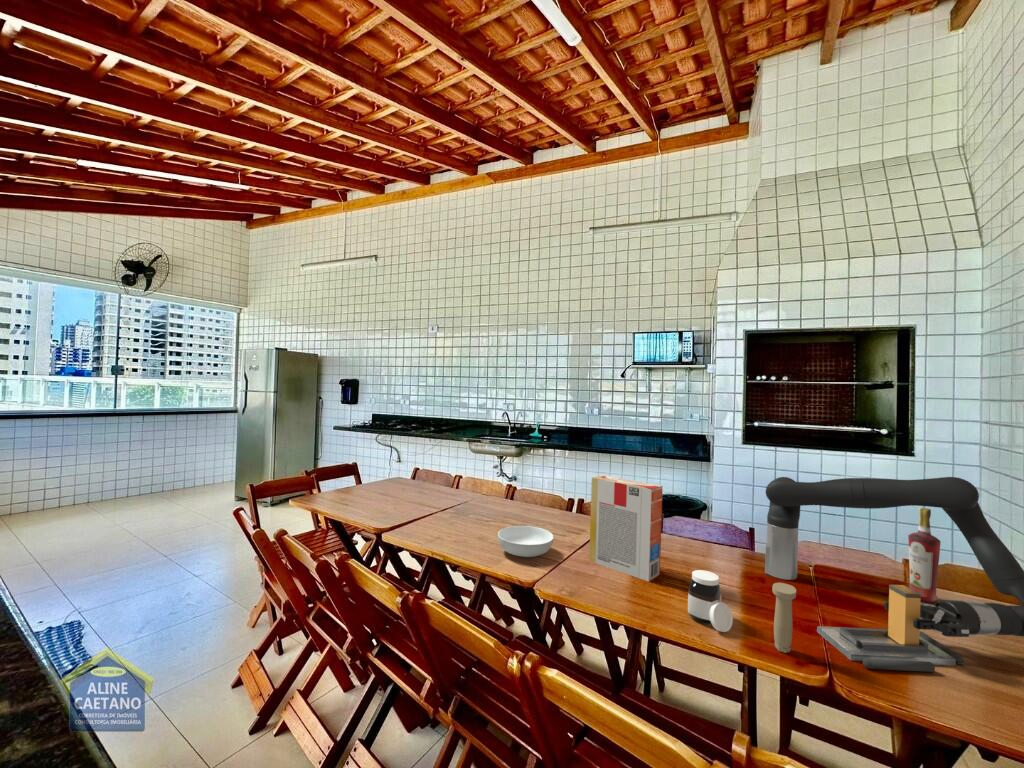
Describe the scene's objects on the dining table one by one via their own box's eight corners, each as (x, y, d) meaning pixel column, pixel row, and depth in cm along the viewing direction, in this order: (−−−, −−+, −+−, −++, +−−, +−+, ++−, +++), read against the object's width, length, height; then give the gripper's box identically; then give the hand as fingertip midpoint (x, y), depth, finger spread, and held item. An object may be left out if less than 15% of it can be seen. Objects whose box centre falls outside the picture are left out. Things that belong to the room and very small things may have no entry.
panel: (910, 636, 114) (910, 624, 115) (955, 665, 102) (956, 652, 103) (817, 632, 115) (817, 620, 115) (850, 660, 103) (851, 647, 103)
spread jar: (695, 605, 127) (696, 565, 127) (738, 620, 120) (739, 577, 120) (681, 622, 118) (682, 579, 118) (727, 638, 111) (728, 592, 111)
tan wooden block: (902, 636, 111) (903, 585, 111) (919, 647, 106) (920, 594, 106) (887, 635, 111) (889, 584, 111) (904, 647, 106) (905, 593, 106)
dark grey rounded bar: (915, 638, 113) (916, 631, 113) (923, 639, 113) (924, 631, 113) (957, 666, 102) (958, 657, 102) (966, 666, 102) (967, 657, 102)
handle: (795, 647, 108) (797, 586, 108) (792, 660, 103) (794, 596, 103) (772, 640, 111) (774, 580, 111) (769, 651, 106) (771, 589, 106)
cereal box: (659, 574, 148) (662, 485, 148) (648, 581, 142) (651, 489, 142) (601, 554, 164) (603, 474, 164) (589, 560, 158) (591, 477, 158)
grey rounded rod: (926, 668, 101) (926, 659, 101) (934, 674, 99) (935, 665, 99) (860, 665, 102) (860, 656, 102) (867, 670, 100) (867, 661, 100)
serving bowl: (532, 569, 149) (532, 548, 149) (485, 553, 162) (486, 534, 162) (563, 551, 166) (564, 533, 166) (519, 538, 179) (519, 521, 179)
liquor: (901, 595, 138) (903, 506, 138) (915, 592, 141) (917, 504, 141) (930, 606, 131) (932, 513, 132) (944, 602, 134) (946, 511, 134)
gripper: (940, 588, 115) (876, 586, 116) (998, 617, 101) (926, 614, 102) (939, 617, 115) (876, 614, 116) (997, 650, 101) (925, 646, 102)
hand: (899, 614), depth 109 cm, fingers open, 8 cm apart
